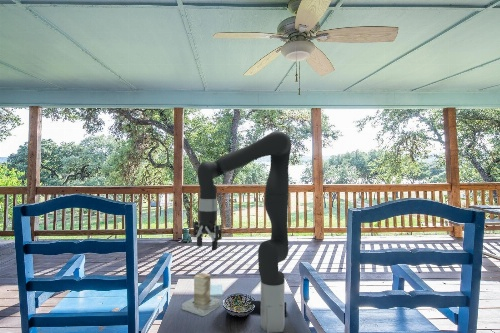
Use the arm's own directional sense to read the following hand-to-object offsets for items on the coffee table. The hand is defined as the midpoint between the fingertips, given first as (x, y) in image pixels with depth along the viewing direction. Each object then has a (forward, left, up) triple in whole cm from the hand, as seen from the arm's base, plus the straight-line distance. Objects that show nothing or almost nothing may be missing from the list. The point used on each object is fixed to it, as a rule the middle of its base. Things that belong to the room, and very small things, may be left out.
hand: (206, 248), depth 120 cm
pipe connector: (+1, -27, -28) cm, 39 cm away
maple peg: (+7, +2, -28) cm, 29 cm away
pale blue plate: (+24, -2, -28) cm, 37 cm away
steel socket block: (+7, +2, -28) cm, 29 cm away
